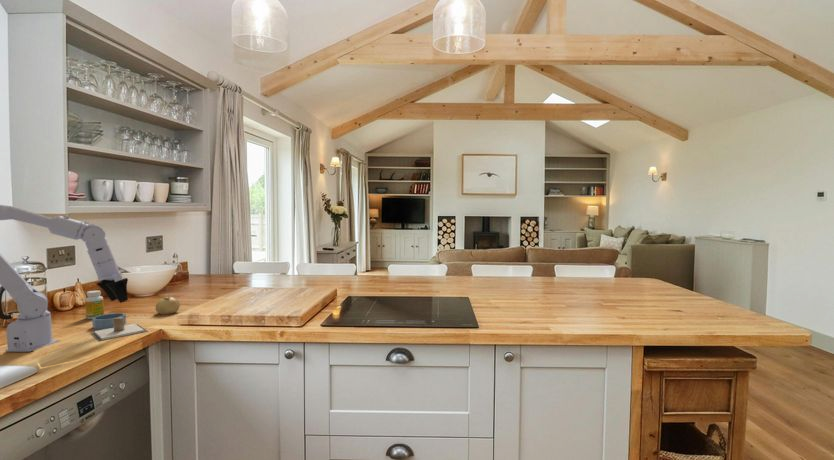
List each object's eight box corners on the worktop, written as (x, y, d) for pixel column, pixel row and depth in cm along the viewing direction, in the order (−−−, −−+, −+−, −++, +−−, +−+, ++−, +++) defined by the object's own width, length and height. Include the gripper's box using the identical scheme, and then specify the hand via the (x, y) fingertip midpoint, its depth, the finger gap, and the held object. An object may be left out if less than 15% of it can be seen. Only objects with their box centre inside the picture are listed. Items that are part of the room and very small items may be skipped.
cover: (144, 331, 135) (143, 317, 135) (101, 340, 127) (100, 325, 127) (134, 325, 142) (134, 312, 142) (94, 333, 134) (93, 318, 134)
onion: (150, 316, 157) (149, 297, 157) (168, 310, 165) (167, 292, 164) (167, 317, 155) (166, 298, 154) (185, 311, 162) (184, 293, 162)
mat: (148, 332, 135) (148, 331, 135) (98, 342, 126) (98, 341, 126) (137, 325, 144) (137, 324, 144) (90, 334, 134) (90, 333, 134)
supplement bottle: (94, 319, 153) (92, 293, 153) (82, 319, 155) (80, 292, 154) (108, 315, 159) (106, 290, 158) (96, 315, 160) (94, 289, 159)
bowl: (111, 330, 139) (111, 319, 138) (86, 330, 139) (85, 319, 139) (132, 322, 148) (131, 312, 147) (108, 322, 148) (107, 313, 148)
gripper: (125, 257, 133) (141, 296, 136) (109, 256, 141) (124, 293, 144) (100, 265, 127) (117, 306, 130) (85, 264, 136) (101, 303, 139)
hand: (119, 300), depth 137 cm, fingers open, 7 cm apart
